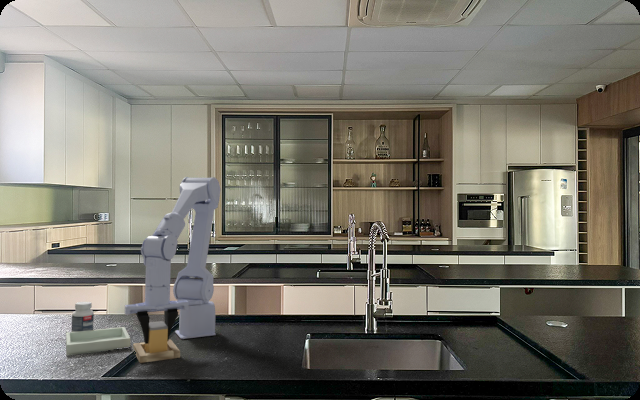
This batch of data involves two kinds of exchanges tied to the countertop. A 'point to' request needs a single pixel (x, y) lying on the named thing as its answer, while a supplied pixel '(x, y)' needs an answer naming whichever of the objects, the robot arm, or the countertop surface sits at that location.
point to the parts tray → (96, 340)
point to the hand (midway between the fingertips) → (156, 341)
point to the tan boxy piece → (157, 337)
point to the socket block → (143, 357)
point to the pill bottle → (82, 317)
